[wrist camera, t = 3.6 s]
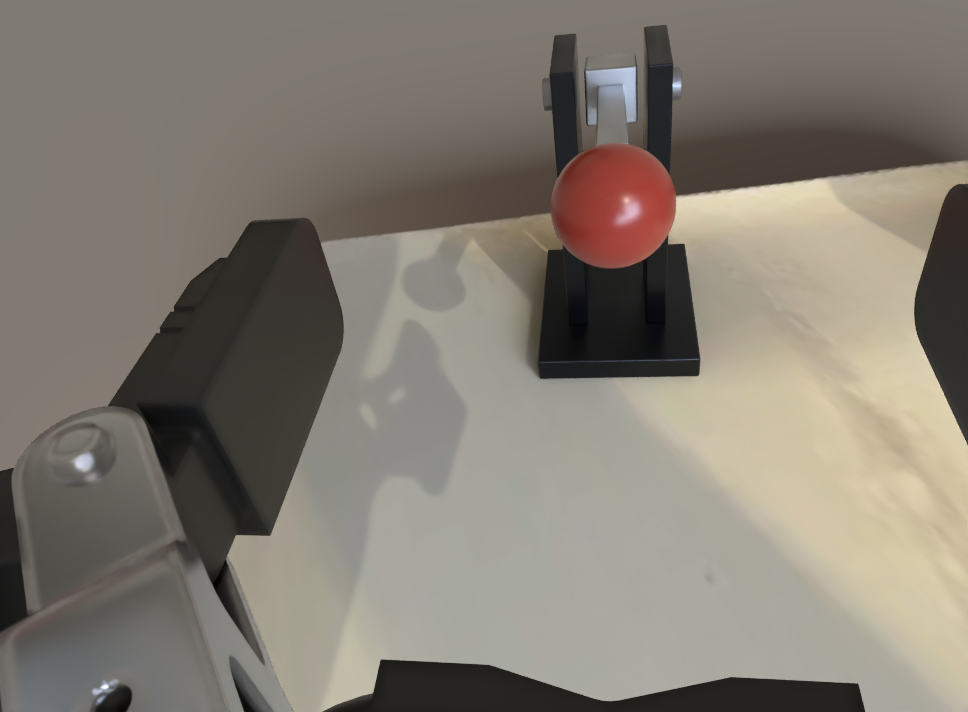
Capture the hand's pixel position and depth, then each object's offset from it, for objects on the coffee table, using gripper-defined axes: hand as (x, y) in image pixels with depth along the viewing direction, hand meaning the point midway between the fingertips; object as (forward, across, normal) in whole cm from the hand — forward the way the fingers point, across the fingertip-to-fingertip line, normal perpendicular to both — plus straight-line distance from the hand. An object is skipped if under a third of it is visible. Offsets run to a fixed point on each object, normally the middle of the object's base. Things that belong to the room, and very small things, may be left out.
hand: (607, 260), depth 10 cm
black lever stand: (+25, 0, +21) cm, 33 cm away
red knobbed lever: (+18, 0, +9) cm, 20 cm away
